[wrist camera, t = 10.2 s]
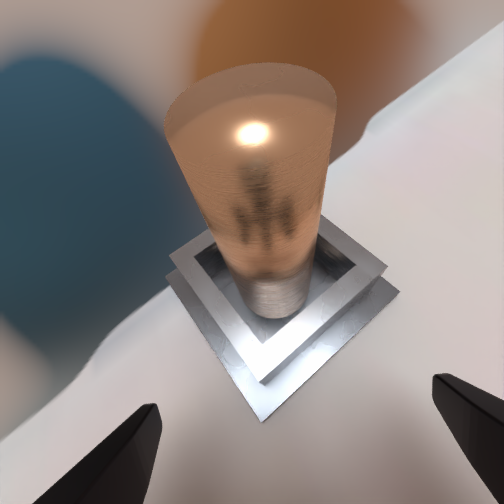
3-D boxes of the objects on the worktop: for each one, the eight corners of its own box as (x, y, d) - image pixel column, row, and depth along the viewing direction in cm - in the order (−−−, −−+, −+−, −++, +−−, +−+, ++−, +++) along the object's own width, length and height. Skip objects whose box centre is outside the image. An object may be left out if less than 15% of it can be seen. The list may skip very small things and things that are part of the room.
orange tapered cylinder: (291, 331, 17) (290, 189, 6) (227, 299, 18) (129, 141, 7) (320, 269, 19) (361, 72, 8) (259, 245, 20) (221, 56, 9)
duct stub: (262, 422, 15) (254, 427, 11) (167, 279, 21) (143, 254, 17) (397, 294, 18) (423, 268, 14) (281, 199, 23) (280, 163, 20)
